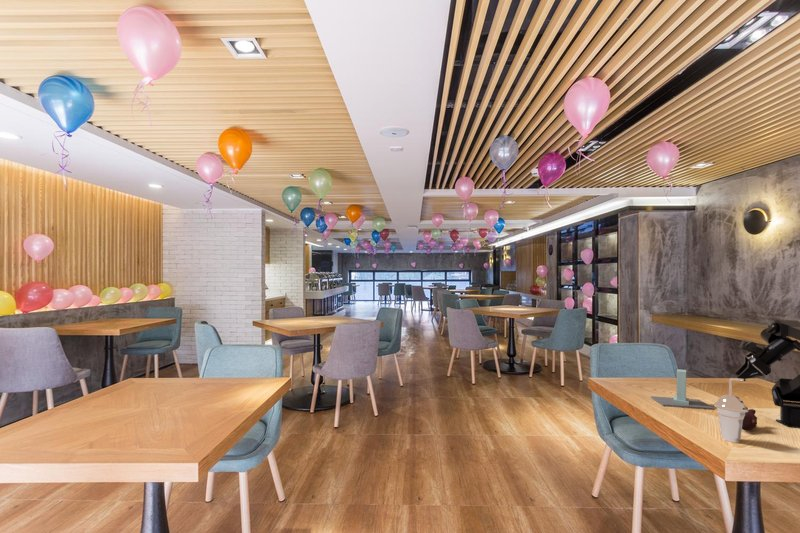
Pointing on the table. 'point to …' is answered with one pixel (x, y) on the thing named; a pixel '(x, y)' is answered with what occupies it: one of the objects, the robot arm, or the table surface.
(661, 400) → the mat
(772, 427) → the table surface
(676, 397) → the number stand
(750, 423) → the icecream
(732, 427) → the cup with straw
